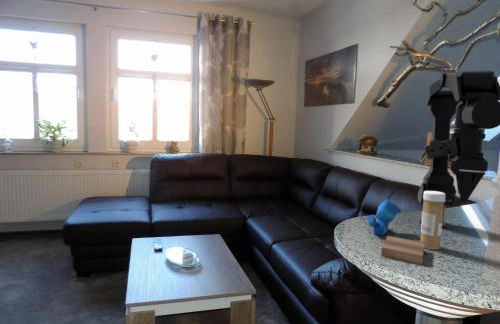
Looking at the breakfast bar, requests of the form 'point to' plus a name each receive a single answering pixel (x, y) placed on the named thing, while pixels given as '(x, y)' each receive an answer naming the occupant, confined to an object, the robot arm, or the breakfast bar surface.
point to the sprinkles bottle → (432, 219)
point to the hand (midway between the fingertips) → (462, 197)
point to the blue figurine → (383, 217)
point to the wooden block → (403, 249)
